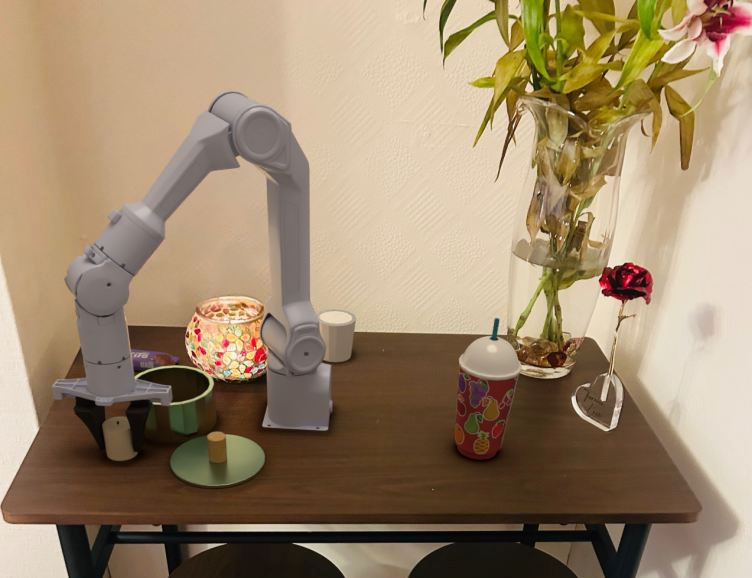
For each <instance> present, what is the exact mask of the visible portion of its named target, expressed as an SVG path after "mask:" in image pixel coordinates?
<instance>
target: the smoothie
mask: <svg viewBox="0 0 752 578" xmlns="http://www.w3.org/2000/svg"><path fill="white" fill-rule="evenodd" d="M500 321H501V320H500V318H499V317H495V318H494V320H493V326H492V331H491V332H492V333H491V335H487V336H483V337H478V338H477V339H475V340H473V341H472V342H471V343H470V344H469V345H468V346H467V348H466V349H465V351H464V352H463V353H462V354H461V355H460V356H459V358H458V372H457V373H458V374H457V389H456V406H455V419H454V420H455V421H454V436H453V439H454V443H455V445H456V448H457V451H458V452H459V454H461V455H462V456H465V457H467V458H469V459H472V460H480V461H482V460H489V459H492V458H494V457H495V456H496V455H497V453H498V451H500V450H501V448H502V446H503V442H504V438H505V434H506V431H507V426H508V422H509V418H510V415H511V411H512V406H513V404H514V398H515V394H516V390H517V386H518V382H519V379H520V373H521V371H522V368H523V367H522V363H521V362H520V360H519V357H518V354H517V351H516V350H515V347H513V345H512V344H511V343H510V342H508V341H507V340H506V339H504V338H502V337H499V336H498V332H499V325H500Z"/></svg>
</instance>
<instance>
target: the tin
mask: <svg viewBox="0 0 752 578" xmlns="http://www.w3.org/2000/svg"><path fill="white" fill-rule="evenodd" d="M134 377H135V378H136V379H140V380H144V381H148V382H152V383H156V384H160V385H168V386H171V389H172V398H173V399H172V401H171V403H170V405H169V406H162V405H161V403H153V404H152V406H151V409H150V412H149V415H148V418H147V421H146V425H145V431H144V438H145V439H147V440H151V441H155V442H159V443H160V442H161V443H179V442H187V441H190V440H192V439H195V438H198V437H202V436H205V434H208V433H209V432H210V431H211V430H212V429H213V428H214V427H215V425H216V423H217V420H218V418H217V404H216V390H215V382H214V378H213V377H212V376H211V375H210V374H209V373H208V372H206V371H205V370H202V369H200V368H197V367H192V366H188V365H174V366H162V367H157V368H153V369H149V370H146V371H141V372H139V373H138V374H136V375H134ZM130 404H131V401H129V405H130Z"/></svg>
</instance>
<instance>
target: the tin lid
mask: <svg viewBox="0 0 752 578" xmlns="http://www.w3.org/2000/svg"><path fill="white" fill-rule="evenodd" d="M265 464H266V455H265V452H264V449H263V448H262V447H261V446H260V445H259V444H258V443H257V442H255V441H253V440H251V439H250V438H247V437H244V436H240V435H236V434H227V433H224V432H222V431H212V432H210V433H207V435H202V436H200V437H197V438H194V439H190V440H187V441H184V443H182V444H181V445H179V446H178V447H177V448H176V449H174V451H173V452H172V454H171V456H170V460H169V465H170V470H171V473H172V474H173V475H174V477H176V478H177V479H178V480H179V481H181V482H183V483H185V484H187V485H189V486H192V487H196V488H201V489H202V488H203V489H226V488H227V489H228V488H231V487H237V486H239V485H242V484H245V483H247V482H249V481H252V480H253V479H255V478H256V477H257V476H258V475H259V474H260V473H261V472H263V471H262V470H263V469H264V467H265Z"/></svg>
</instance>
